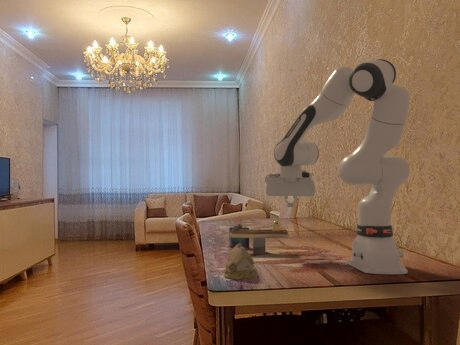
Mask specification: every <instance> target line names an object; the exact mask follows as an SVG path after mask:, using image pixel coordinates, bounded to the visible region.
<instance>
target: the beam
mask: <svg viewBox="0 0 460 345" xmlns="http://www.w3.org/2000/svg"><path fill="white" fill-rule="evenodd" d="M231 227H232V231H231V233H230V238H249V239H252V248H253V249H252V253H253V255H258V254H259V255H266V239H289V238H290V234H289V232H288V229H280V231H272V229H260V228H258V229H255V228H254V229H250V228H249V229H238V225H232V226H231Z"/></svg>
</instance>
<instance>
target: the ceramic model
mask: <svg viewBox="0 0 460 345" xmlns="http://www.w3.org/2000/svg"><path fill="white" fill-rule="evenodd" d="M246 249H247V248H244V247H242V244H241V243H238V244H237V245H236V246H235V247H232V249H231V250H230V251H229V253H228V254H227V256H226V257H227V260H228V261H227V262H226V264H225V269H224V275H223V276H224V277H225V278H227V279H231V280H246V279H255V278H257V277H258V276H259V272H258V270H257V269H256V268H254V265H255V260H254V259H253V257H252V255H250V254H249V253H248V251H247V250H246Z"/></svg>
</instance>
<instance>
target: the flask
mask: <svg viewBox="0 0 460 345" xmlns="http://www.w3.org/2000/svg"><path fill="white" fill-rule="evenodd" d="M241 224H242V223H241V222H239V223H237V224H236V226H238V229H250V228H249V227H247V226H245V225H244V226H243V225H241ZM228 228H229V229H228V230H229V232H228V235H229V237H228V239H229V244H228V245H229V248H234V247H235V246H236V245H237V244H238V243H241V244H242V247H244V248H245V249H249V248H250V238H230V233H231V231H232V226H229V227H228Z"/></svg>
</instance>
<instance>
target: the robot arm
mask: <svg viewBox="0 0 460 345" xmlns="http://www.w3.org/2000/svg"><path fill="white" fill-rule="evenodd" d="M396 76H397V70H396V67H395V65H394V64H393V63H392V62H391V61H390V60H387V59H383V58H382V59H381V58H380V59H373V60H372V59H371V60H368V61H364V62H362V63H359V64H358V65H356V66H355V67H354V68H351V67H349V66H338V67H336V68H335V69H334V71H333V72H332V73H331V74H330V76H329V77H328V79H327V80H326V82H325V83H324V85H323V86H322V88H321V90H320V91H319V94H318V95H317V97H315V99H314V100H313V101H312V102H311V103H310V104H308V105H307V106H306V107H304V108H303V110H302V111H301V112H300V113H299V115H298V116H297V118H296V119H295V120H294V122H293V123H292V124H291V126H290V128H289V129H288V130H287V132H286V133H285V135H284V136H282V137H281V139H280V140H279V141H278V143H277V144H276V145H275V147H274V151H273V156H274V159H275V161H276V163H277V164H278V165H279V173H268V174H267V175H266V176H265V178H264V180H265V181H264V182H265V184H266V189H265V195H267V197H283V199H284V200H285V204H286V208H295V203H296V201H297V199H298V197H314V196H315V195H316V185H315V181H314V180H313V179H312V178H313V174H312V172H309V171H306V170H303V169H302V166H312V165H314V164H316V163H317V161H318V160H319V157H320V151H319V147H318V145H317V144H316V143H315V142H312V141H308V140H305V139H304V137H305V135H306V134H307V132H308V131H310V129H311V128H314V127H316V126H317V125H320V124H324V123H329V122H333V121H336V120H338V119H339V118H340V117H341V116H342V115H343V114H344V113H345V112H346V110H347V108H348V107H349V105H350V103H351V101H352V99H353V98H354V97H355V96H356V95H358V96H360V97H361V98H362V97H363V98H364V99H366V100H367V101H370V102H373V107H372V111H371V116H370V118H369V119H370V120H369V123H368V127H367V129H366V133H365V136H364V138H363V139H362V141H361V143H360V144H359V145H358V146H357V147H356V148H355V150H354V151H353V152H351V153H350V154H349V155H347V156H345V157H344V158H343V159H342V160H340V163H339V166H338V175H339V178H340V180H341V181H342V183H344V184H347V185H350V186H351V185H352V186H355V187H370V186H371V189H370V192H369V194H368V195H366V196H365V197H362V198H361V199H360V200H359V202H358V204H357V224H356V234H357V235H356V237H355V238H354V239H353V240H352V244H351V246H352V249H351V259H350V260H347V262H346V263H347V265H349V266H350V267H353V268H355V269H356V270H359V271H360V272H362V273H365V274H374V275H406V274H408V269H407V268H406V266H405V265H404V263H403V262H402V261H400V260H401V259H404V250H399V249H400V247H399V245H397V244H396V241H395V240H394V238H393V237H394V229H393V225H392V218H391V217H392V204H393V200H394V197H395V195H396V193H397V191H398V189H399V188H400V187H401V186H402V185H403V184H404V183H405V182H407V181H408V179H409V177H410V173H411V170H410V165H409V163H408V162H407V160H406V159H405V158H403V157H399V156H395V155H392V154H391V155H390V154H389V155H388V154H387V155H385V154H386V153H388V152H390V151H391V150H393V149H395V148H396V147H397V146H398V145H399V144H400V142H401V138H402V135H403V132H404V128H405V125H406V120H407V117H408V113H409V107H410V93H409V92H408V90H406V89H405V88H404V87H402V86H399V85H396V84H395V81H396V78H397V77H396ZM289 197H292V199H293V201H292V202H289V201H288V198H289Z"/></svg>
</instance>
